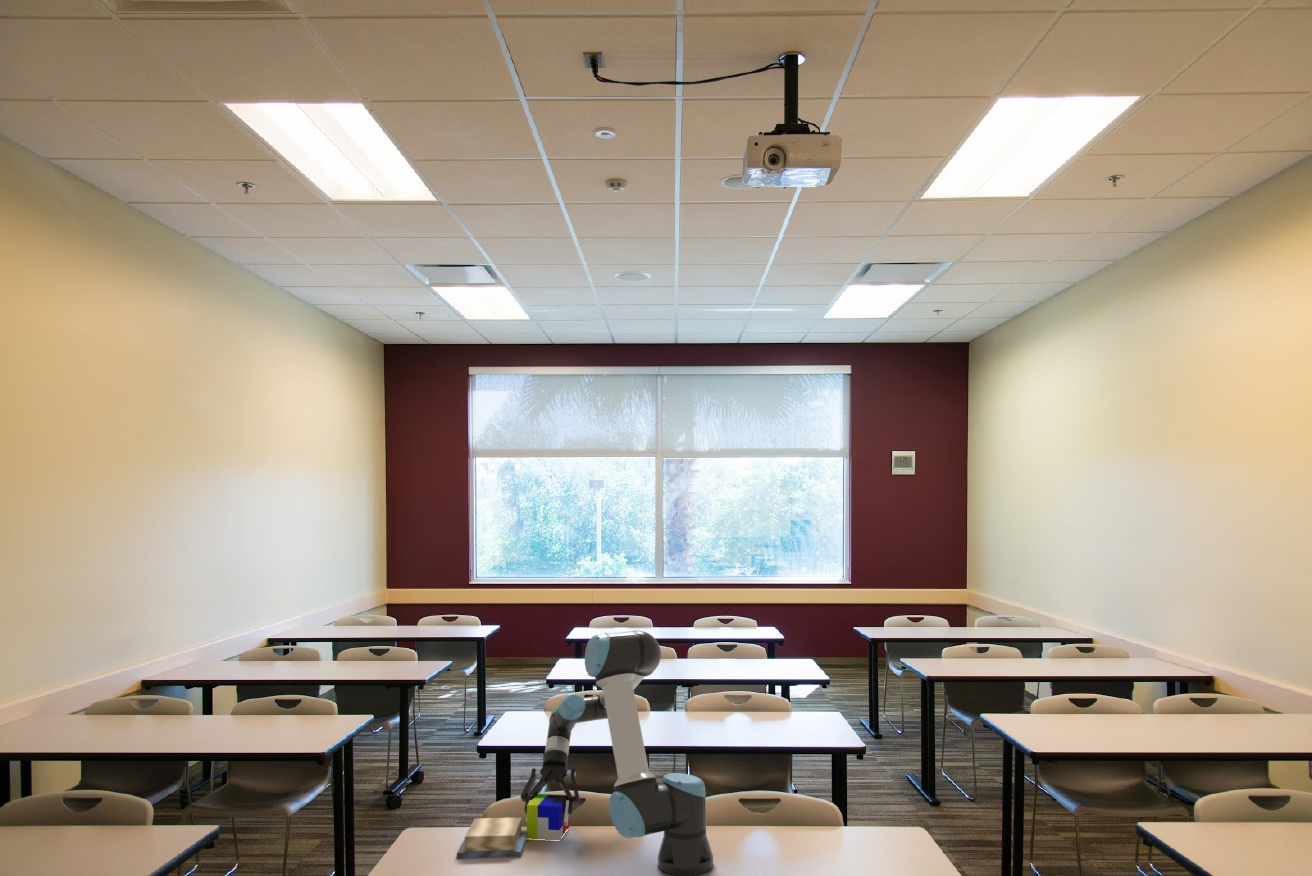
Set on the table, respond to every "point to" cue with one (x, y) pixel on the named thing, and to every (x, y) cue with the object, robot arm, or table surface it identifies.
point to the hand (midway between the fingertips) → (546, 823)
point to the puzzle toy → (546, 817)
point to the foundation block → (493, 838)
